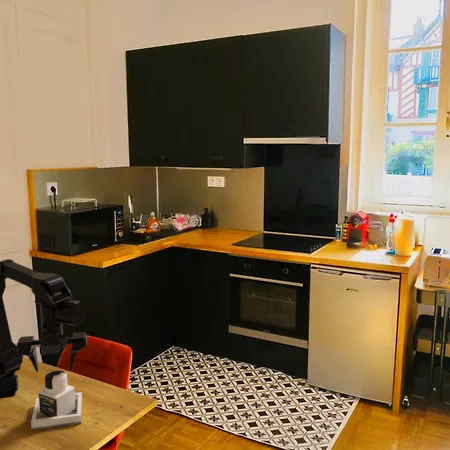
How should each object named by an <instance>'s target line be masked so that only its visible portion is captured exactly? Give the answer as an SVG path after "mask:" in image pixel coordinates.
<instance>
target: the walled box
mask: <svg viewBox="0 0 450 450" xmlns="http://www.w3.org/2000/svg"><path fill="white" fill-rule="evenodd" d="M75 408H76V409H75V410H73V411H72V412H70V413H69V414H67V415H64V416H57V417H49V418H48V417H46V416H43V415H40V406H39V396H38V397H36V399H35V403H34V408H33V412H32V417H31V421H30V425H31V427H30V428H31V431H35V430H37V431H38V430H42V429H51V428H58V427H65V426H72V425H78V424H79V425H80V424H82V413H83V412H82V411H83V392H82V391H81V392H80V391H79V392H75Z"/></svg>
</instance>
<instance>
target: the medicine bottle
mask: <svg viewBox="0 0 450 450" xmlns="http://www.w3.org/2000/svg"><path fill="white" fill-rule="evenodd" d="M44 386H45V388H44V389H41V390H40V391H38V397H39V406H40V415H43V416H46V417H48V418H49V417H57V416H64V415H67V414H69V413H70V412H72V411H73V410H75V409H76V408H75V393H76V391H75V387H74V386H72V385H69V384H68V373H67V372H66V371H64V370H52V371H50V372H48V373H47V374H45V376H44Z"/></svg>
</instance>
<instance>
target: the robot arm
mask: <svg viewBox="0 0 450 450" xmlns="http://www.w3.org/2000/svg"><path fill="white" fill-rule="evenodd" d="M7 279H10V280H12V281H14V282H17V283H19V284H22V286H26V287H28V288H29V289H30V290H31V292H32V294H33V295H35V296H36V297H38V298H36V299H35V300H34V304H39V305H40V306H39V307H40V324H41V333H40V337H39V338H40V339H35V336H34V335H30V336H29V335H26V336H21V337H20V338H19V339H18V341H17V343H14V342H13V339H12V335H11V330H10V325H9V321H8V317H7V312H6V307H5V302H4V298H3V295H4V293H5V290H6V286H7V285H6V280H7ZM71 292H72V291H71V290H70V289H69V287H68V286H67V284H66V282H65V280H64V278H63V277H62V276H61V275H60V274H56V273H52V272H40V271H36V270H34V269H32V268H29V267H27V266H25V265H22V264H20V263H17V262H14V260H13V259H9V258H8V259H7V258H6V259H3V260H0V398H5V397H6V398H7V397H14V396H16V393H17V391H18V389H19V387H20V386H19V377H18V374H17V373H16V372H17V371H20V370H21V367H22V364H23V362H24V361H23V358H24V356H25V357H27V358H28V359H29V361H30V362H31V363H32V366H33V367H34V370H35V373H39V361H38V354H37V353H38V352H37V348H40V351H41V353H40V354H41V355H42V356H47V355H57V354H59V353H60V351H61V349H64V348H67V347H68V345H71V348H70V359H69V369H70V370H71V369H72V368H73V364H74V361H75V359H76V356H77V353H78V352H81V351H82V350H83V349H86V348H87V343H88V336H87V335H88V334H87V332H85V331H80V332H73V333H72V336H71V337H69V336H68V335H67V334H66V333H65V334H64V329H63V328H64V327H63V326H64V325H65V324H66V325H70V326H74V327H79V326H81V325H82V324H83V323H84V321H85V319H86V317H87V316H86V314H87V311H86V308H85V307H84V306H83V305H81V301H80V300H73V297H74V296H73V295H72V293H71ZM57 295H58V296H57ZM63 324H64V325H63Z"/></svg>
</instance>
